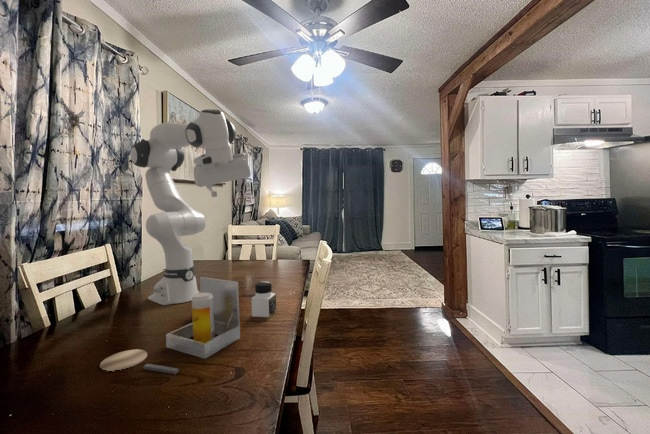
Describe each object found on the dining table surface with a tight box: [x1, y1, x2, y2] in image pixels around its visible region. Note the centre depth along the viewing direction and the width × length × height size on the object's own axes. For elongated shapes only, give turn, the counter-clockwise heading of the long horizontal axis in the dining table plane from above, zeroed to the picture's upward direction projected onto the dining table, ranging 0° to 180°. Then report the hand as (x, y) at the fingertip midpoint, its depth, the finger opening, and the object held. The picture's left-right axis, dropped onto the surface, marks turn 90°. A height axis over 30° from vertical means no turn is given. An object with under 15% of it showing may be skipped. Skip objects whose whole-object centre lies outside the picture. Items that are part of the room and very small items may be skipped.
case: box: [165, 276, 241, 359], centre depth 96 cm, size 16×14×18 cm
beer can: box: [191, 292, 216, 343], centre depth 96 cm, size 6×6×15 cm
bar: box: [143, 363, 180, 375], centre depth 81 cm, size 10×1×1 cm, turn 74°
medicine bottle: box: [250, 281, 277, 318], centre depth 119 cm, size 7×7×12 cm
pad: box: [99, 348, 148, 372], centre depth 86 cm, size 11×11×1 cm
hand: (226, 193), depth 117 cm, fingers open, 8 cm apart
